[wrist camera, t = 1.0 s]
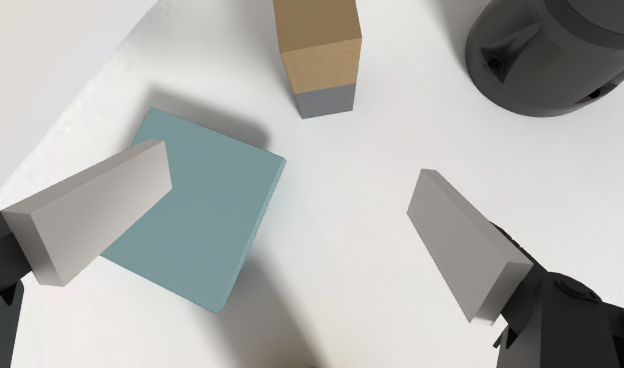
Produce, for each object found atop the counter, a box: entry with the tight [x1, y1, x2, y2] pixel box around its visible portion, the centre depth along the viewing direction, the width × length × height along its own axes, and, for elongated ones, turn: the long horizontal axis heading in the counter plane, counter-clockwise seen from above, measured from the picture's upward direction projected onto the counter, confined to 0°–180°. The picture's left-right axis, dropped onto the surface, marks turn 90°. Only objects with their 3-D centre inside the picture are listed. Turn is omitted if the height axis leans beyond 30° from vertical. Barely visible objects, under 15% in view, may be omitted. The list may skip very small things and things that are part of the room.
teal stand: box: [100, 107, 287, 314], centre depth 28 cm, size 16×16×4 cm
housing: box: [273, 0, 362, 119], centre depth 25 cm, size 6×6×12 cm
